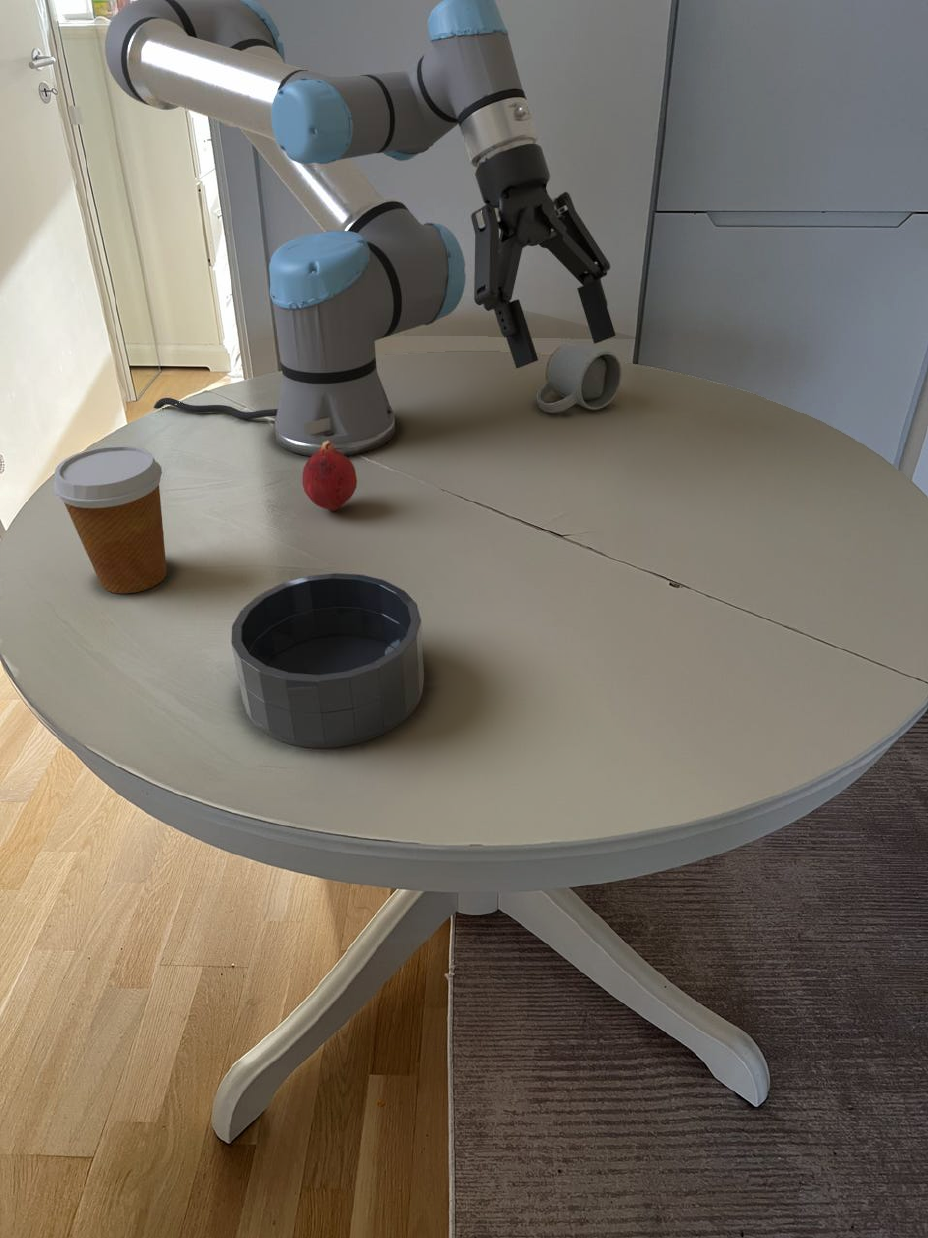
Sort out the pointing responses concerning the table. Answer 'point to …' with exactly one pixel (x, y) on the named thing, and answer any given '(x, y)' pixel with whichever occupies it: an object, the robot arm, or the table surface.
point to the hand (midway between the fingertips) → (567, 352)
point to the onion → (329, 478)
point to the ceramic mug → (580, 378)
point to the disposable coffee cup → (116, 514)
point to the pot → (329, 659)
